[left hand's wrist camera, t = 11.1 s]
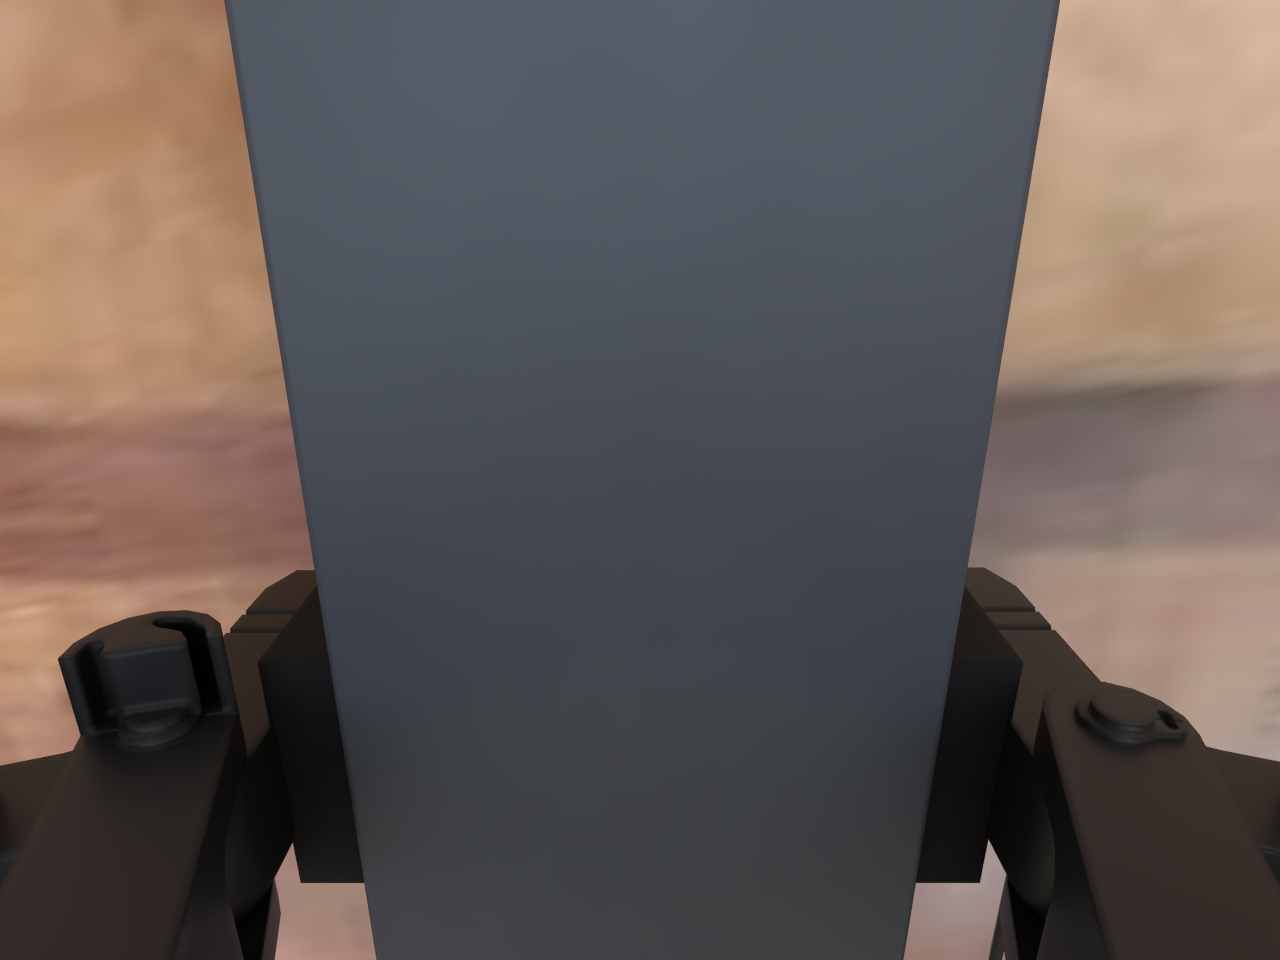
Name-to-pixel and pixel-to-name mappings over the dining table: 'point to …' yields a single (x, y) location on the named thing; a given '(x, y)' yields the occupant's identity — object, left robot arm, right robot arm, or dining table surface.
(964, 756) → the left robot arm
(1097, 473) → the dining table surface
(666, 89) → the beam
